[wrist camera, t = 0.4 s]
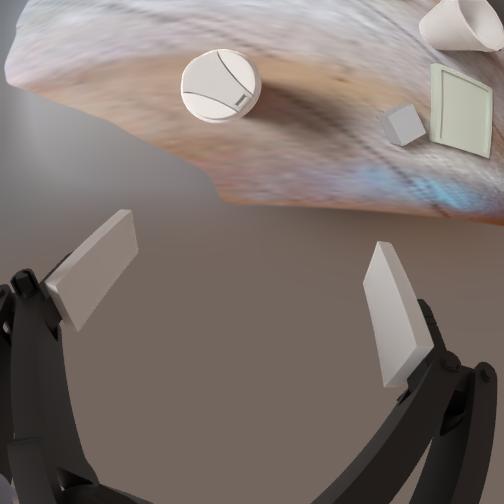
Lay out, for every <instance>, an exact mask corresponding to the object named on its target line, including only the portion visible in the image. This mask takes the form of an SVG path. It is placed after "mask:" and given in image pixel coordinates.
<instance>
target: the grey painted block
mask: <svg viewBox="0 0 504 504" xmlns="http://www.w3.org/2000/svg"><path fill="white" fill-rule="evenodd" d="M376 117H377V119H378V120H379V122H380V124H381V126H382V128H383V130H384V132H385V134H386V136H387V138H388V139H389V141H390V143H393V144H396V145H400V146H404V145H406V144H408V143H409V142H411V141H413V140H415V139H416V138H418V137H420V136H422V135H424V134H425V133H426V131H425V129H424V127H423V125H422V123H421V120H420V118H419V116H418V114H417V112H416V110H415V108H414V106H413V104H398V105H396V106H394V107H392V108H391V109H389V110H387V111H385V112H383V113H381V114H379V115H377V116H376Z"/></svg>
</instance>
